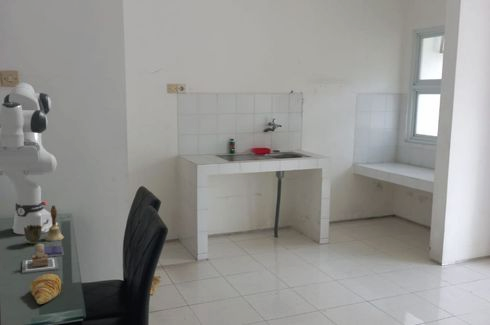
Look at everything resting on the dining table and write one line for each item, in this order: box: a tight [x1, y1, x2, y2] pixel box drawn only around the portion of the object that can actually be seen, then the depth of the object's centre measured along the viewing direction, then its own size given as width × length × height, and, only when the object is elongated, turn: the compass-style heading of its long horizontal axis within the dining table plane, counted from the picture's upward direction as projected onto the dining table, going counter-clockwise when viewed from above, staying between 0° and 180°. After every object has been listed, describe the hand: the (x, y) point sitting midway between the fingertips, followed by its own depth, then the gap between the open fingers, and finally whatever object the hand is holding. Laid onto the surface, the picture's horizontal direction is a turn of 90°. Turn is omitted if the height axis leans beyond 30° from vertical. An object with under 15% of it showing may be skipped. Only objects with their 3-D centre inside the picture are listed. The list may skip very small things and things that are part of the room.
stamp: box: [31, 243, 49, 268], centre depth 187 cm, size 6×6×8 cm
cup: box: [24, 225, 42, 246], centre depth 212 cm, size 8×7×8 cm
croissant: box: [29, 272, 62, 305], centre depth 163 cm, size 21×10×8 cm, turn 14°
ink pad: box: [44, 245, 65, 258], centre depth 202 cm, size 9×9×2 cm
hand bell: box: [44, 205, 65, 242], centre depth 220 cm, size 8×8×16 cm
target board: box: [21, 256, 59, 274], centre depth 188 cm, size 13×13×1 cm
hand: (13, 174), depth 196 cm, fingers open, 8 cm apart
